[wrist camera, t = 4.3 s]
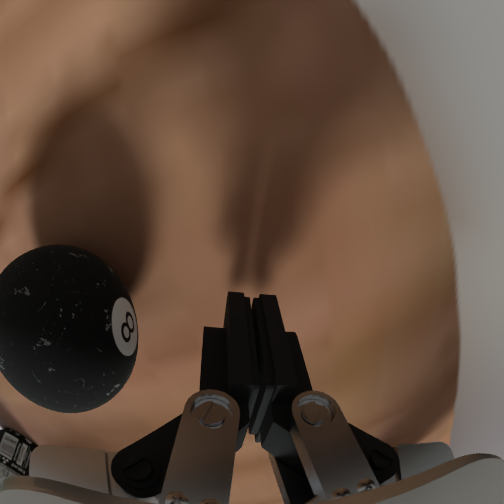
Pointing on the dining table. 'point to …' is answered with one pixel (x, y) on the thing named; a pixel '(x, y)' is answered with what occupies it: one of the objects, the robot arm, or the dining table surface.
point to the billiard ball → (65, 329)
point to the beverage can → (14, 453)
